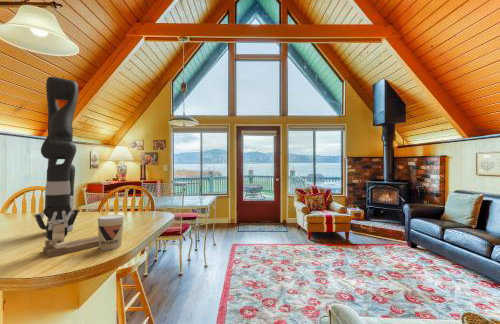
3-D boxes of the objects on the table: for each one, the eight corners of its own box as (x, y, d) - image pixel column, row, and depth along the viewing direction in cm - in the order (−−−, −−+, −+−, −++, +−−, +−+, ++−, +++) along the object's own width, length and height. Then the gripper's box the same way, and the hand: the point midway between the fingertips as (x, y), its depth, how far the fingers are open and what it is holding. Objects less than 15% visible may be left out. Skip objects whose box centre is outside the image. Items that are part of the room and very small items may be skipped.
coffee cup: (94, 251, 92) (95, 219, 93) (99, 244, 101) (99, 215, 101) (122, 248, 96) (123, 218, 96) (124, 242, 105) (125, 213, 105)
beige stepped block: (44, 249, 93) (45, 223, 93) (59, 245, 97) (60, 221, 97) (54, 254, 88) (54, 227, 88) (69, 250, 92) (70, 225, 92)
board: (42, 252, 91) (43, 247, 91) (100, 239, 107) (100, 235, 107) (50, 257, 86) (50, 251, 86) (109, 243, 103) (109, 238, 103)
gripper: (75, 191, 101) (74, 232, 101) (30, 193, 89) (29, 241, 89) (83, 192, 97) (82, 235, 96) (37, 195, 85) (36, 245, 85)
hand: (56, 238), depth 93 cm, fingers closed on beige stepped block, 3 cm apart
